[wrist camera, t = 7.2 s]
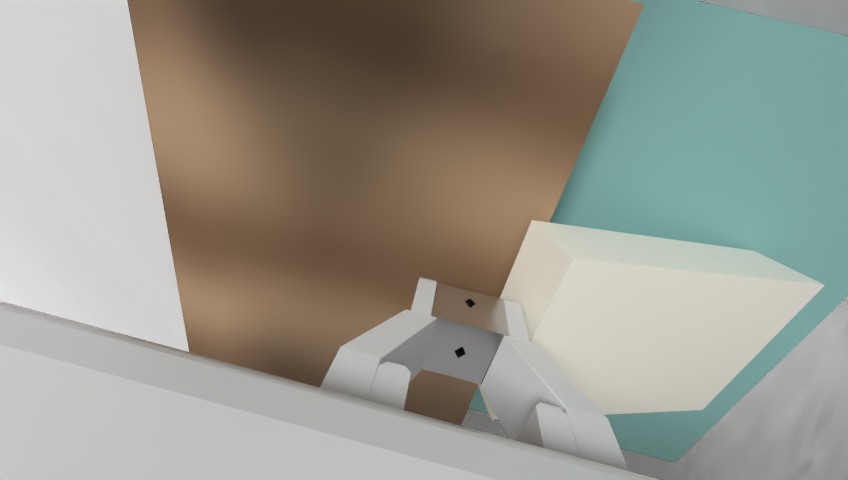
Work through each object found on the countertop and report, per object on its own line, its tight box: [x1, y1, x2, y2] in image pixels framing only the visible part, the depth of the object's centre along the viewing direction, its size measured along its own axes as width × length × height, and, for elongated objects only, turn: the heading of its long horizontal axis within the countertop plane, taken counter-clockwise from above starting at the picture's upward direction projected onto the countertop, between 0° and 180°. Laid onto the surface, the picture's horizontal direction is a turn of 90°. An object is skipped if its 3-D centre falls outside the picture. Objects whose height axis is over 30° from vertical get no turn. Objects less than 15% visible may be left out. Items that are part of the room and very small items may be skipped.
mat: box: [468, 0, 848, 463], centre depth 13 cm, size 18×12×1 cm, turn 168°
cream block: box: [478, 220, 825, 420], centre depth 11 cm, size 6×9×2 cm, turn 78°
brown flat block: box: [127, 0, 645, 425], centre depth 12 cm, size 16×12×3 cm
